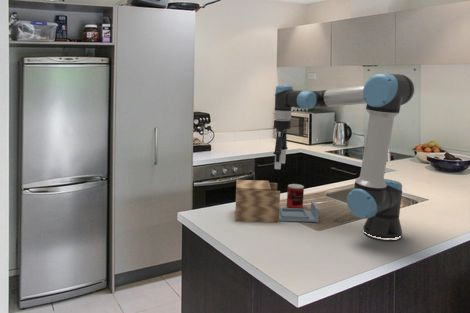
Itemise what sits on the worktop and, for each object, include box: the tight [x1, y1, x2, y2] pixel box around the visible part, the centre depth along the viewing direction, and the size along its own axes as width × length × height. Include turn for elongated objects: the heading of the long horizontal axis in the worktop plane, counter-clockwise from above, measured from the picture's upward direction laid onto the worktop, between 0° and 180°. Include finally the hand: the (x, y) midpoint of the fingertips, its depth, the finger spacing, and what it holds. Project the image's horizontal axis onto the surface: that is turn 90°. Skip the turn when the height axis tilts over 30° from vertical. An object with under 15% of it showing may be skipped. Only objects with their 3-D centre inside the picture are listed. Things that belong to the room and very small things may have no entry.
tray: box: [279, 200, 320, 223], centre depth 192 cm, size 20×13×6 cm, turn 90°
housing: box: [234, 179, 281, 223], centre depth 191 cm, size 19×15×15 cm
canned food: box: [286, 183, 305, 209], centre depth 207 cm, size 8×8×11 cm
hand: (280, 166), depth 194 cm, fingers open, 13 cm apart
